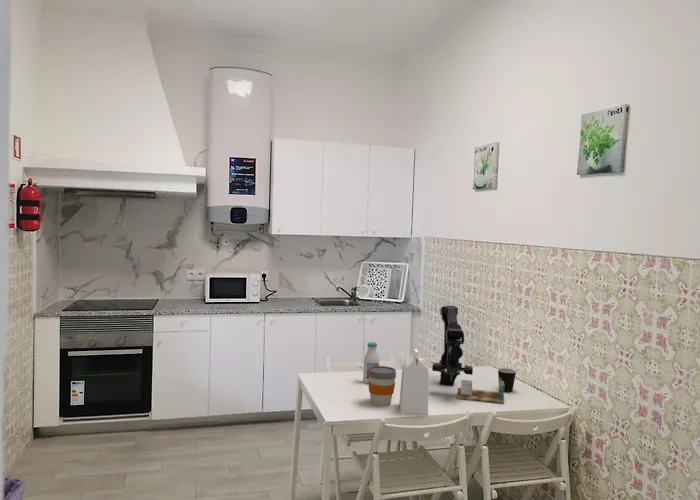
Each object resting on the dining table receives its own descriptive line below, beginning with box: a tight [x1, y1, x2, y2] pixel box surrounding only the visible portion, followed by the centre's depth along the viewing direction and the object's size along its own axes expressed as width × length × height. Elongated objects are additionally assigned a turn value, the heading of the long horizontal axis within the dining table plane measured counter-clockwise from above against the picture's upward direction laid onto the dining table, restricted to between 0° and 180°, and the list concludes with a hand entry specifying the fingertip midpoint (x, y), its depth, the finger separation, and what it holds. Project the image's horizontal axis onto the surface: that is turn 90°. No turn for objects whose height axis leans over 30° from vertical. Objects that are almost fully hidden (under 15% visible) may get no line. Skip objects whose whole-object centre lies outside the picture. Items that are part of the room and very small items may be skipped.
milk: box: [398, 348, 430, 416], centre depth 244 cm, size 12×12×26 cm
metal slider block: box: [460, 379, 473, 396], centre depth 266 cm, size 5×6×6 cm
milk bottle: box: [362, 341, 380, 385], centre depth 282 cm, size 8×8×20 cm
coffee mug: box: [497, 367, 517, 393], centre depth 280 cm, size 12×9×10 cm
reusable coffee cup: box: [367, 365, 397, 407], centre depth 252 cm, size 13×12×15 cm
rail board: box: [456, 380, 505, 405], centre depth 265 cm, size 21×12×8 cm, turn 78°
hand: (451, 386), depth 268 cm, fingers closed
